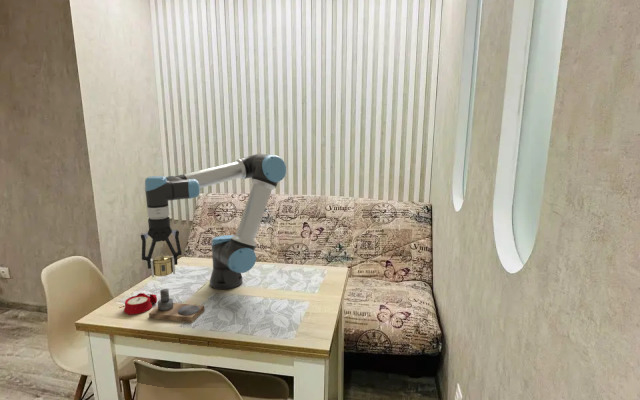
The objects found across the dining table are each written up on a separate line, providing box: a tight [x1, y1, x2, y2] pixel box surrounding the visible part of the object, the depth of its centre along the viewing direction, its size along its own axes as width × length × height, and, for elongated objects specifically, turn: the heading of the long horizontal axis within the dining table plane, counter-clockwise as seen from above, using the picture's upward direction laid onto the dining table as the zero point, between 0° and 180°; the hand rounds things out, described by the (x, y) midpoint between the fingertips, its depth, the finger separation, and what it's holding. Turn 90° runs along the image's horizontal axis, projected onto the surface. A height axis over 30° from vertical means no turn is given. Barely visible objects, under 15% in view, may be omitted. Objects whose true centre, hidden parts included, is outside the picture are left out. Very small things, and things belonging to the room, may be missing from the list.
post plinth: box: [148, 288, 206, 323], centre depth 146 cm, size 18×10×10 cm, turn 79°
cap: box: [152, 252, 173, 277], centre depth 144 cm, size 7×7×7 cm
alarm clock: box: [119, 292, 158, 316], centre depth 152 cm, size 10×6×15 cm
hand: (163, 274), depth 145 cm, fingers closed on cap, 7 cm apart
